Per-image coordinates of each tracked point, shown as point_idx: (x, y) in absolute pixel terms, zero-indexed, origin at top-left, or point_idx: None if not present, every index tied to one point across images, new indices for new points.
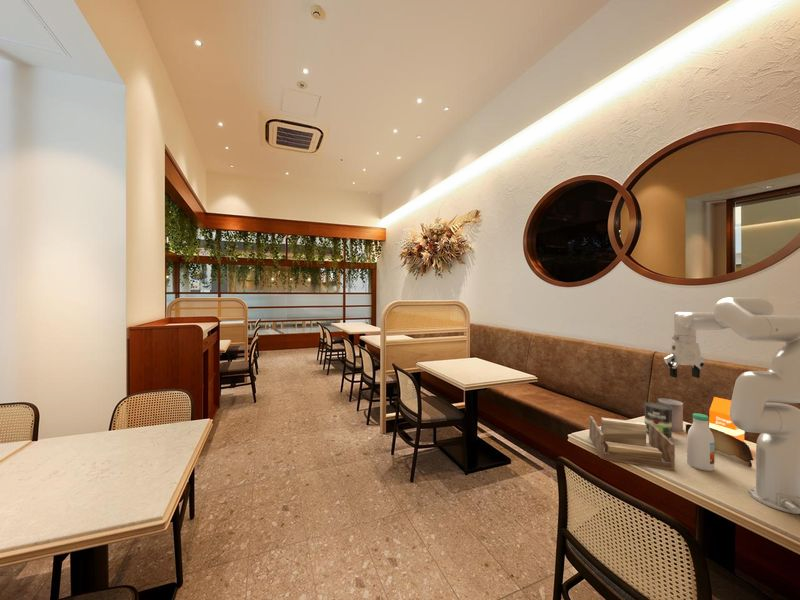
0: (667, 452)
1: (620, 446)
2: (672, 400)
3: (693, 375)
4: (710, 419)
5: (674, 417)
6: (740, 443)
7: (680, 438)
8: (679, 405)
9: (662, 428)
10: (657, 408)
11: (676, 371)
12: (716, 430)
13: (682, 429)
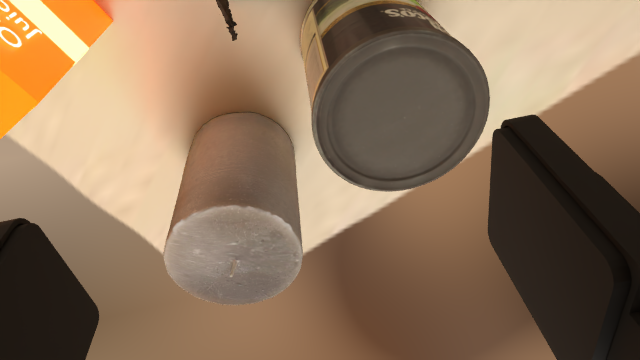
0: None
1: None
2: (213, 276)
3: (77, 309)
4: (60, 66)
5: (241, 154)
6: None
7: (256, 24)
8: (205, 206)
9: None
10: (453, 48)
11: (602, 204)
12: None
13: (197, 135)
